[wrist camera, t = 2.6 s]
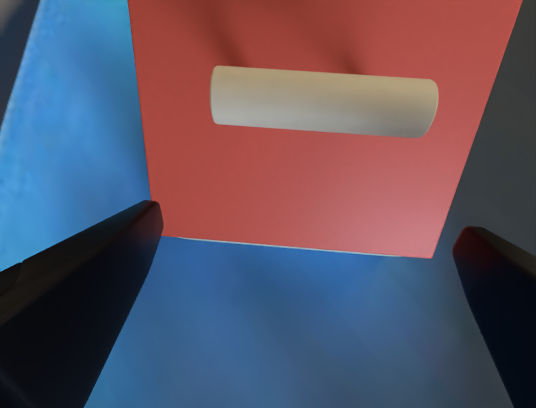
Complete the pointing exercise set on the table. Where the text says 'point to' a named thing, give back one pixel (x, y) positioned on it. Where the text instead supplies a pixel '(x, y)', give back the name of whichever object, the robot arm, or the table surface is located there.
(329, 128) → the lid
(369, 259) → the table surface
